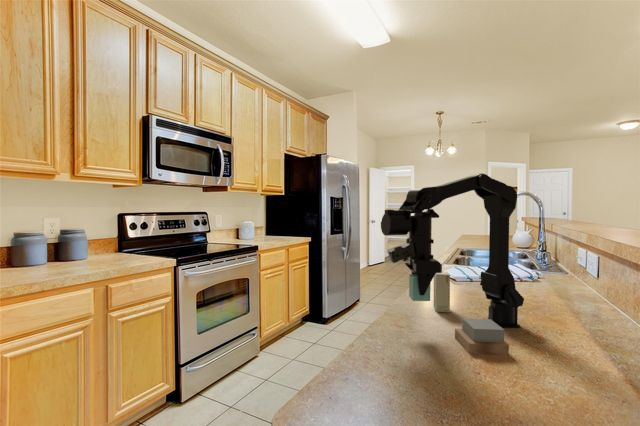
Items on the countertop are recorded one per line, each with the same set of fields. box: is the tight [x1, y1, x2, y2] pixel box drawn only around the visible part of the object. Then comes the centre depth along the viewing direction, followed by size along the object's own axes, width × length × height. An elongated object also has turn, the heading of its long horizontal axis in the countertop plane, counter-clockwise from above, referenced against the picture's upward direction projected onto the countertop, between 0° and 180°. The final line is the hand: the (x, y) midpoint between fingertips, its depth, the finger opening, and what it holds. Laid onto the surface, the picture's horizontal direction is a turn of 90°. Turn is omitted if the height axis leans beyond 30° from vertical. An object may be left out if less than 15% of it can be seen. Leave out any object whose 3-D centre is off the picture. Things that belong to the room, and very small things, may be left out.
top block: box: [461, 318, 506, 343], centre depth 81 cm, size 7×7×3 cm
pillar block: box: [408, 274, 431, 302], centre depth 89 cm, size 4×4×6 cm
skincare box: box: [433, 270, 451, 313], centre depth 108 cm, size 6×4×12 cm
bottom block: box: [454, 328, 510, 356], centre depth 81 cm, size 9×9×3 cm
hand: (419, 292), depth 89 cm, fingers closed on pillar block, 4 cm apart
